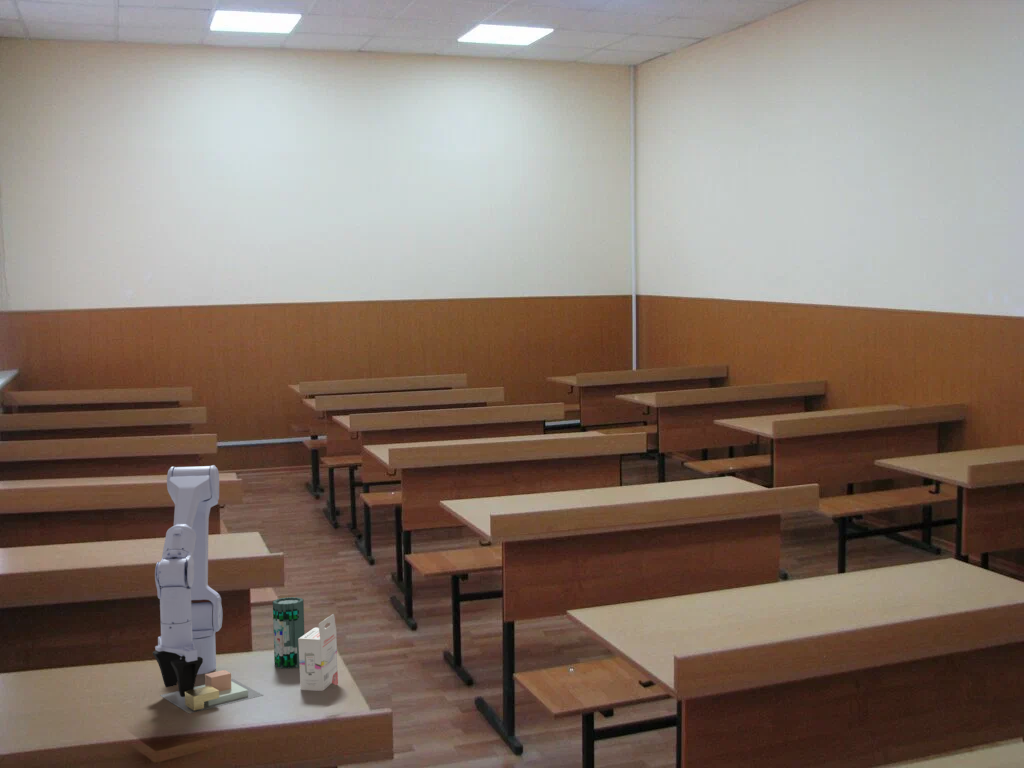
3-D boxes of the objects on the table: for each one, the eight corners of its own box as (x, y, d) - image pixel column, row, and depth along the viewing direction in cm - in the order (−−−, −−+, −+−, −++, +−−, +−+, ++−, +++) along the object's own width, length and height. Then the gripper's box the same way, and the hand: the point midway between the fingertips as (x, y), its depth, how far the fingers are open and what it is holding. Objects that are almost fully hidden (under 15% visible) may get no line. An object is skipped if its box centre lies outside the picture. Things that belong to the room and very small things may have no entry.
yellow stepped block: (185, 705, 202) (184, 691, 201) (210, 699, 205) (210, 685, 205) (193, 710, 198) (193, 696, 198) (219, 704, 202) (219, 690, 202)
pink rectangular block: (189, 694, 209) (188, 672, 209) (228, 685, 214) (227, 664, 214) (208, 705, 202) (207, 683, 202) (248, 696, 207) (247, 674, 207)
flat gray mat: (160, 702, 209) (159, 695, 209) (232, 685, 218) (232, 678, 218) (188, 721, 198) (188, 713, 198) (263, 702, 207) (263, 695, 207)
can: (269, 672, 227) (267, 601, 226) (291, 664, 232) (289, 596, 231) (288, 677, 223) (286, 605, 223) (310, 669, 228) (308, 599, 228)
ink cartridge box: (315, 683, 219) (313, 612, 218) (338, 684, 218) (336, 612, 217) (299, 697, 210) (296, 623, 210) (322, 698, 209) (320, 623, 209)
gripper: (141, 617, 209) (144, 686, 209) (170, 631, 198) (172, 704, 198) (176, 611, 213) (179, 678, 214) (207, 624, 202) (209, 696, 203)
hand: (178, 690), depth 206 cm, fingers open, 7 cm apart
